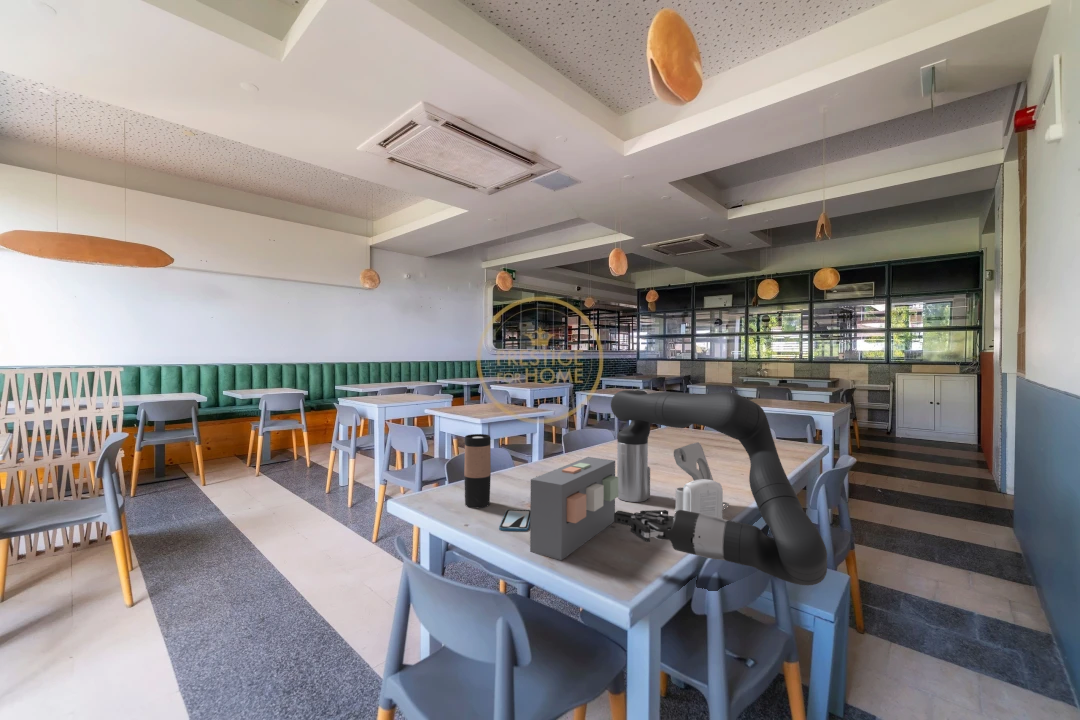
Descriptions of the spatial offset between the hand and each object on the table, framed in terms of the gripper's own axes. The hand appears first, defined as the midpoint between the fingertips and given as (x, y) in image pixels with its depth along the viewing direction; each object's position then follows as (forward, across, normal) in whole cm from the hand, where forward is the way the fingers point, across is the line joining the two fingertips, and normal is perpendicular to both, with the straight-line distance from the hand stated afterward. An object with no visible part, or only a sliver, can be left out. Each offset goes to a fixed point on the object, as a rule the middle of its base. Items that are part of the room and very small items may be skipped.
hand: (615, 516), depth 94 cm
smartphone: (+32, -9, +11) cm, 35 cm away
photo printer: (-10, -30, +10) cm, 34 cm away
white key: (+10, -9, +2) cm, 14 cm away
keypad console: (+14, -9, +10) cm, 19 cm away
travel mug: (+49, -13, +10) cm, 52 cm away
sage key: (+10, -18, +2) cm, 21 cm away
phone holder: (-7, -46, +10) cm, 48 cm away
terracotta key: (+10, 0, +2) cm, 11 cm away
